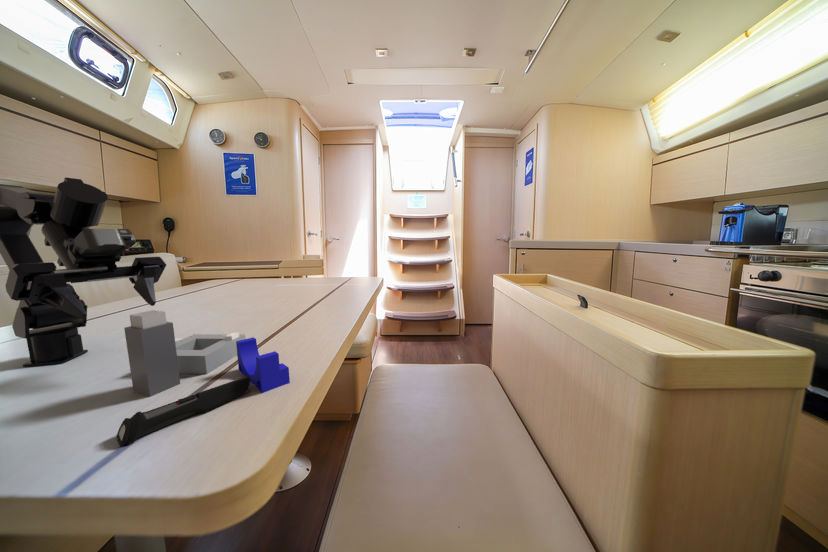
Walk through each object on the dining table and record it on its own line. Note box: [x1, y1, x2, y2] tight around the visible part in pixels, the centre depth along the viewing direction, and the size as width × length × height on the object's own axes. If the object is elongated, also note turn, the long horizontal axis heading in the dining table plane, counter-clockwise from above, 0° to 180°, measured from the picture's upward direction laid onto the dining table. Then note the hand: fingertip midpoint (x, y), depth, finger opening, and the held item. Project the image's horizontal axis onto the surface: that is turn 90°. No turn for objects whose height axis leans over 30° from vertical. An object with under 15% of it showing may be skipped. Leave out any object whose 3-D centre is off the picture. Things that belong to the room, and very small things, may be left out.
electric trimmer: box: [116, 376, 251, 448], centre depth 42 cm, size 4×16×3 cm, turn 142°
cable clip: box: [236, 337, 291, 394], centre depth 52 cm, size 12×4×6 cm, turn 47°
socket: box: [175, 332, 247, 375], centre depth 60 cm, size 12×12×4 cm
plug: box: [123, 309, 181, 397], centre depth 48 cm, size 4×4×13 cm
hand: (122, 310), depth 50 cm, fingers open, 9 cm apart
